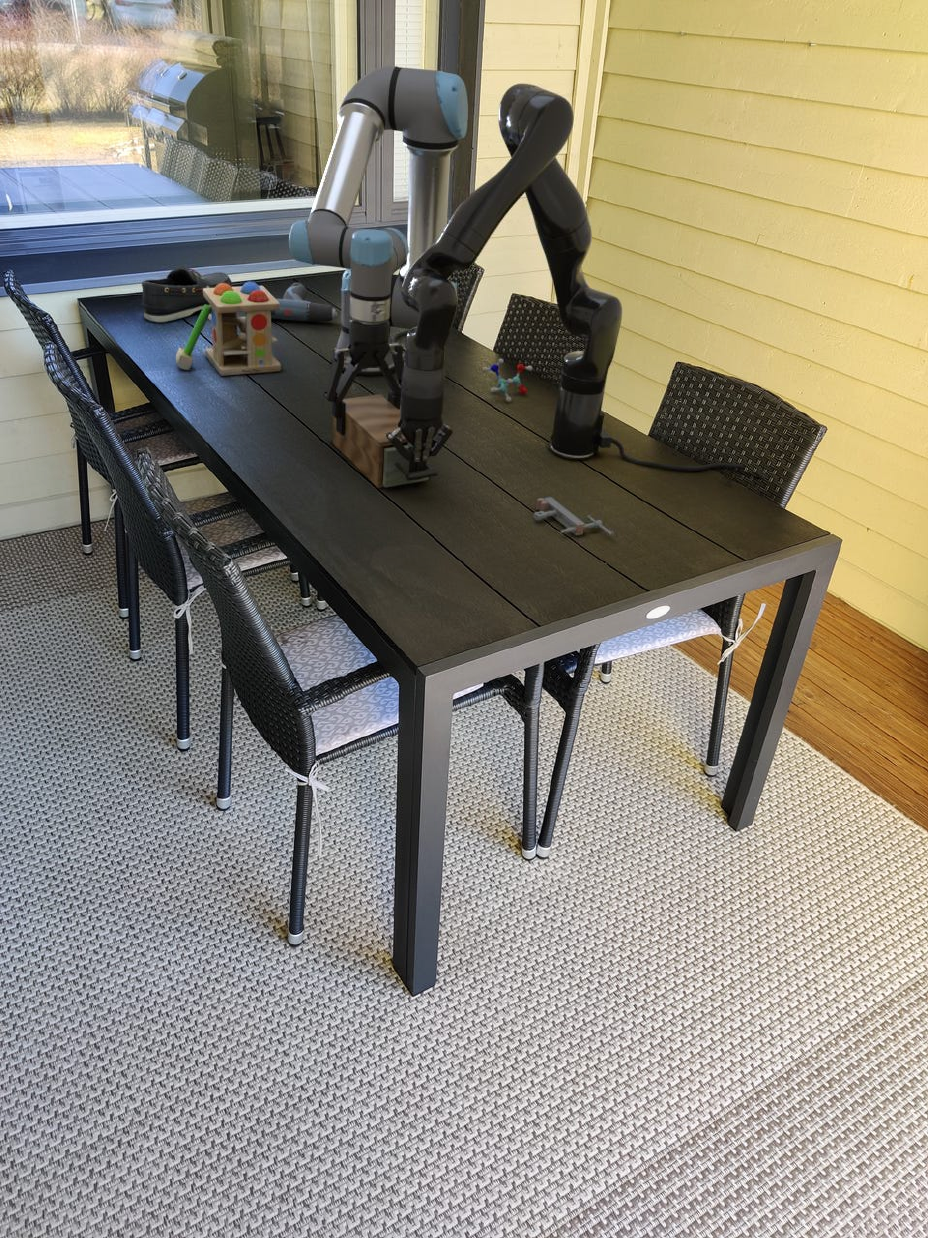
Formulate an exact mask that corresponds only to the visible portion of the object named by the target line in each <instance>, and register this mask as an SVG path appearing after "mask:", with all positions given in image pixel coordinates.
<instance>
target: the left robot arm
mask: <svg viewBox="0 0 928 1238" xmlns="http://www.w3.org/2000/svg"><path fill="white" fill-rule="evenodd" d="M468 121H469V105H468V95H467V89H466V85H465V82H464V80H463V79H462V78H461V76H459V75H458V74H455V73H450V72H445V71H442V70H433V69H423V68H413V67H402V66H401V67H400V66H397V65H385V66H381V67H377V68H376V69H373V70H371V71H370V72H368V73H367V74H365V75H363V76H362V77H361V78H360V79H359V80H357V82H355V84H354V85H353V86H352V87H351V88H350V90H348V92H347V93H346V95H345V97H344V98H343V100H342V102H341V105H340V108H339V110H338V114H337V124H338V126H339V127H338V130H337V133H336V136H335V139H334V142H333V144H332V148H331V151H330V154H329V157H328V160H327V163H326V166H325V170H324V172H323V175H322V178H321V181H320V184H319V187H318V190H317V193H316V195H315V199H314V201H313V204H312V208H311V211H310V214H309V216H308V219H307V220H306V219H303V220H299V219H298V220H295V221H294V222H293V224H292V225H291V227H290V231H289V237H288V249H289V252H290V255H291V258H292V259H294V261H297V262H301V263H304V264H310V265H312V266H315V265H318V266H325V267H333V268H339V269H340V268H341V269H346V270H345V271H344V272H343V274H342V281H341V287H340V292H341V316H340V317H341V319H340V321H341V324H340V325H341V326H340V329H341V330H340V336H339V338H338V341H337V344H336V347H334V348H333V349H332V358H333V359H332V362H331V366H330V370H329V373H328V377H327V379H326V382H325V386H324V389H323V392H322V396H323V397H324V398H325V399H326V400H327V401H328V402H330V403H332V411H331V414H332V417H333V416H334V417H335V418H336V430H337V431H338V432H339V433H340V434H341V435H345V421H346V403H345V402H343V399H345V397H346V395H347V394H348V392H349V390H350V389H351V386H352V385H353V383H354V382H355V380H356V378H357V376H380V375H381V376H383V379H384V380H385V382H386V383H387V385H388V387H389V389H390V391H389V392H387V399H386V400H388V401H389V402H390V403H391V404H392V405H394V406H395V407H396V408H397V409H398V410H400V405H401V383H402V373H403V368H404V357H403V356H404V346H403V345H402V344H401V343H399V341H397V340H398V339H399V338H401V337H404V336H407V333H408V331H409V330H410V329H412V328H414V327H417V326H418V323H419V313H418V312H416V311H414V310H413V309H411V308H410V307H409V306H407V305H406V303H405V302H404V301H403V298H402V294H401V288H402V283H403V280H404V278H405V275H406V274H407V272H408V270H409V269H410V268H411V266H412V265H413V264H414V263H415V262H416V261H417V260H418V259H419V258H420V257H421V256H422V255H423V254H424V253H425V252H426V251H427V250H428V249H429V248H430V247H431V246H432V245H433V244H434V243H435V242H436V241H437V240H438V239H439V237H440V235H441V233H442V232H443V230H444V228H445V227H446V225H447V224H448V205H449V186H450V170H451V169H450V167H451V154H452V153H453V152H454V151H456V149H457V148H458V146H459V140H461V139H464V138H465V137H466V135H467V130H468ZM385 131H395V132H402V144H403V145H404V146H405V148H406V149H407V150H408V152H409V163H408V166H409V167H408V203H407V238H406V236H405V235H404V234H403V232H401V231H400V230H399V229H397V228H393V227H385V228H381V229H374V228H372V229H369V228H366V229H365V228H357V227H350V226H349V224H350V221H351V218H352V214H353V212H354V209H355V206H356V202H357V199H358V196H359V192H360V189H361V186H362V183H363V181H364V177H365V174H366V171H367V168H368V165H369V161H370V158H371V156H372V153H373V151H374V150H373V149H374V146H375V143H376V142H378V141H380V139H382V137H383V135H384V132H385ZM405 262H406V263H405ZM398 270H399V274H395V273H396V272H397V271H398ZM451 277H452V275H451V276H450V277H449V278H448V280H449V281H450V282H451V283H452V284H453V285H454V287H455V289H456V292H457V293H458V284H457V283H456V282H454V281H451V280H452V279H451ZM391 327H392V328H399V329H406V330H403V331H400V332H398V333H396V334H395V335H394V336H393V337H391V336H392V335H391ZM393 371H395V374H396V377H397V380H398V382H397V380H396V379H395V377H394V374H393V373H392V372H393ZM343 372H344V373H343ZM342 373H343V375H342Z"/></svg>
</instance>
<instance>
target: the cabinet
mask: <svg viewBox="0 0 928 1238" xmlns="http://www.w3.org/2000/svg"><path fill="white" fill-rule="evenodd" d="M343 402H345V403H346V421H345V435H341V434H340V433H339V432H338V431H337V430H336V418H335V417H334V416H333V415H332V444H333V445H334V446H335V447H336V448H337V449H338V450H339V452H341V453H342V454H343V455H344V456H345V457H346V458H347V459H348V460H349V461H350V462H351V463H352V464H353V465H354V466H355V467H356V468H357V469H358V470H359V471H360V472H361V473H362V474H363V475H364V476H365V478H367V479H368V481H370V482H371V483H372V484H373V485H374V486H375V487H376V488H378V489H379V488H385V487H384V486H383V479H382V466H383V446H387V445H392V443H391V442H390V441H389V440H388V439H387V437H386V434H387V433H388V432H391V433H393V432H394V431H395V430H396V429H397V428H398V422H399V420H400V418H401V413H400V409H399V410H398V409H397V408H396V407H395V406H394V405H392V404H391V403H390V402H389V401H388V400H387V399H386V398H385V397H384V396H383V395H382V394H381V393H379V394H372V395H370V394H369V395H364V396H363V395H362V396H356V397H355V396H354V397H349V398H344V399H343ZM401 443H407V440H406V438H405V437H404V436H403V434H402V442H401Z"/></svg>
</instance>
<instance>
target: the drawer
mask: <svg viewBox="0 0 928 1238" xmlns="http://www.w3.org/2000/svg"><path fill="white" fill-rule="evenodd" d="M402 445H403V446H404V447H405V448H406V450H407V451H408V445H407V443H402ZM430 464H431V457H429V458H428V460H427V461H426V470H420V471H414V472H409V461H407V460H406V459H405V458H404V457H403V456H402V455H400V453H399V452H398V451H397V450H396V448H395V447H394V446H393V445H387V446H383V466H382V479H383V486H384V487H383V488H391V487H397V486H402V485H408V484H413V483H419V482H426V481H429V480H430V479H429V478H432V477H436V476H438V473H439V472H438V468H436V467H432V466H430ZM421 478H423V479H421ZM415 479H418V480H415Z"/></svg>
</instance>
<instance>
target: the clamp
mask: <svg viewBox="0 0 928 1238" xmlns="http://www.w3.org/2000/svg"><path fill="white" fill-rule="evenodd" d="M536 500H537V501H536V505H535V510H539V511H536V512H534V513H533V519H534V520H536V521H543V520H547V518H548V517H549V518H550V517H553V518H554V519H555V520H556V521H557V522H558V523H560V524H561V525H563V526H564V527H565V529H561V530H560V532H559V533H560V534H568V533H569V534H570V533H572V534H574V535H575V536H582V535H583V534H584V530H587V529H591V528H594V529H598V528H600V529H601V530H603V531H604V532H605V533H606V534H607V535H608V536H609V537H613V536H614V535H615V533H614V531H611V530H609V529H608V528H606V527H605V526H603V521H602V520H601V519H598V520H595V518H593V517H592V515H590V514H588V515H587V516H586V520H587V521H591V522H590V523H585V522H584V521H582V520H581V519H580V518H579V517H577V516H576V515H574V514H573V513H572V512H571V511H569V510H568V509H567V508H566V507H564V506H563V505H562V504H560V503H559V502H558V501H556V499H554V498H553V497H551V496H549V497H545V498H543V497H540V498H537V499H536Z"/></svg>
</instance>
